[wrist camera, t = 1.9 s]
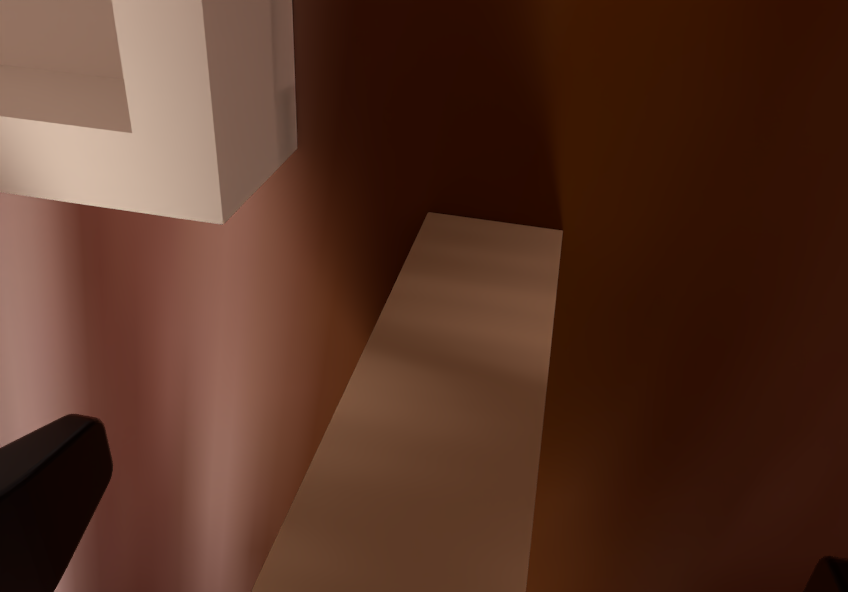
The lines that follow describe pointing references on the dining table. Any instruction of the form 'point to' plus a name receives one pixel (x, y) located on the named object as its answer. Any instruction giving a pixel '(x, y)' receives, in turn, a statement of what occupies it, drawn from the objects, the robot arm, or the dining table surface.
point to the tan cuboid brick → (435, 426)
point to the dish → (146, 102)
